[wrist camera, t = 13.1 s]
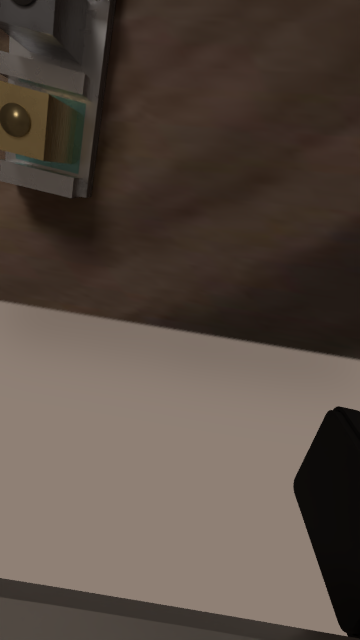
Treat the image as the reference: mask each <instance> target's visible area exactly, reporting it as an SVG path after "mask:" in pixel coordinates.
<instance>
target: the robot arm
mask: <svg viewBox="0 0 360 640" xmlns="http://www.w3.org/2000/svg"><path fill="white" fill-rule="evenodd" d="M294 493H295V496H296V499H297V502H298V505H299V508H300V511H301V513H302V516H303V520H304V523H305V525H306V529H307V532H308V534H309V537H310V540H311V543H312V546H313V549H314V552H315V555H316V558H317V561H318V564H319V567H320V570H321V573H322V576H323V579H324V582H325V585H326V588H327V591H328V594H329V596H330V600H331V603H332V605H333V608H334V611H335V615H336V617H337V620H338V623H339V625H340V627H341V629H342V630H343V631H344V632H346V633H347V635H348V637H347V636H341V635H336V634H329V633H324V632H317V631H313V630H307V629H301V628H295V627H290V626H284V625H278V624H272V623H267V622H261V621H255V620H249V619H243V618H237V617H232V616H226V615H220V614H214V613H208V612H202V611H196V610H190V609H184V608H178V607H173V606H167V605H161V604H154V603H149V602H142V601H137V600H131V599H125V598H118V597H113V596H106V595H100V594H95V593H89V592H82V591H77V590H71V589H64V588H58V587H52V586H46V585H40V584H33V583H27V582H21V581H15V580H9V579H2V578H0V640H360V412H359V411H357V410H353V409H348V408H344V407H336V408H334V409H333V410H330V411H328V412H327V414H326V415H325V417H324V420H323V422H322V424H321V426H320V428H319V430H318V432H317V434H316V436H315V438H314V440H313V442H312V444H311V446H310V449H309V450H308V452H307V454H306V456H305V459H304V461H303V463H302V465H301V467H300V469H299V471H298V473H297V475H296V477H295V479H294Z"/></svg>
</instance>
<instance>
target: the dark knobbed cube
mask: <svg viewBox="0 0 360 640" xmlns="http://www.w3.org/2000/svg"><path fill="white" fill-rule="evenodd" d="M87 8H88V1H87V0H0V29H2V30H3V31H4V32H5V33H7V34H8V35H9V36H10V37H12V38H13V39H14V40H15V41H17V42H18V43H19V44H21V45H22V46H23V47H24V48H26V49H27V50H28V51H29V52H32V53H36V54H39V55H43V56H47V57H50V58H54V59H58V60H62V61H65V62H69V63H73V64H76V65H80V66H82V57H83V47H84V37H85V28H86V18H87Z"/></svg>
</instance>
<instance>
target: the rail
mask: <svg viewBox="0 0 360 640" xmlns="http://www.w3.org/2000/svg"><path fill="white" fill-rule="evenodd" d="M87 1H88V8H87V18H86V28H85V37H84V47H83V57H82V66H80V65H76V64H73V63H69V62H65V61H62V60H58V59H54V58H50V57H47V56H43V55H39V54H36V53H32V52H29V51H28V50H27V49H26V48H24V47H23V46H22V45H21V44H19V43H18V42H17V41H15V40H14V39H13V38H12V37H10V43H9V53H7V52H3V51H0V74H1V75H3V76H5V77H6V78H8V83H10V84H14V85H17V86H21V87H25V88H28V89H32V90H36V91H39V92H43V93H47V94H50V95H51V96H53V97H54V98H56V99H58V100H59V101H61V102H63V103H64V104H66V105H68V106H69V107H71V108H73V109H74V110H76V111H77V119H76V128H75V137H74V146H73V155H72V164H66V163H58V162H49V161H42V160H38V159H34V158H30V157H27V156H23V155H19V154H15V153H11V152H7V151H6V157H5V159H0V181H3V182H7V183H11V184H15V185H19V186H23V187H27V188H31V189H35V190H40V191H44V192H48V193H52V194H56V195H60V196H64V197H68V198H76V197H85V198H88V197H91V194H92V187H93V179H94V171H95V163H96V155H97V147H98V139H99V132H100V124H101V116H102V108H103V100H104V92H105V84H106V76H107V69H108V61H109V53H110V45H111V37H112V29H113V21H114V13H115V6H116V0H87Z"/></svg>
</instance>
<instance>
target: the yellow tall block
mask: <svg viewBox="0 0 360 640" xmlns="http://www.w3.org/2000/svg"><path fill="white" fill-rule="evenodd" d="M76 119H77V111H76V110H74V109H73V108H71V107H69V106H68V105H66V104H64V103H63V102H61V101H59V100H58V99H56V98H54V97H53V96H51V95H50V94H47V93H43V92H39V91H36V90H32V89H28V88H25V87H21V86H17V85H14V84H10V83H6V82H3V81H0V150H3V151H7V152H11V153H15V154H19V155H23V156H27V157H30V158H34V159H38V160H42V161H49V162H58V163H66V164H72V155H73V146H74V137H75V128H76Z"/></svg>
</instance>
